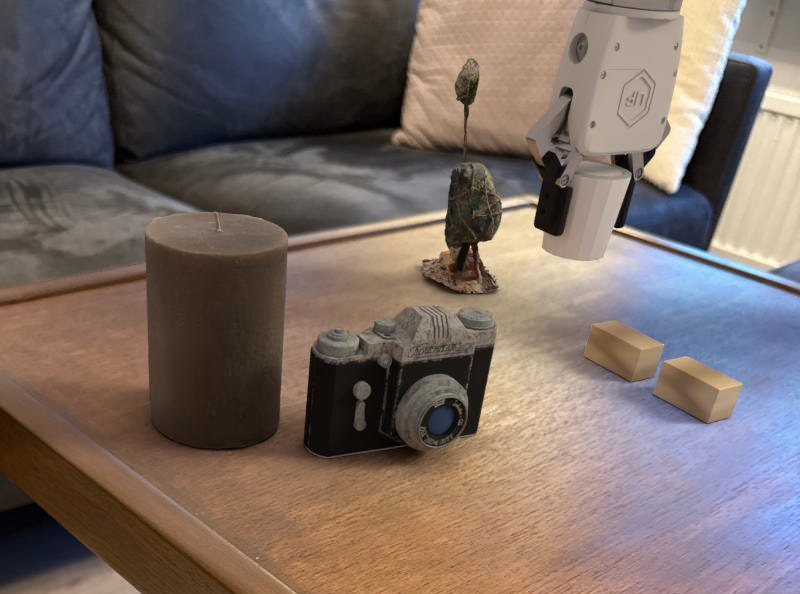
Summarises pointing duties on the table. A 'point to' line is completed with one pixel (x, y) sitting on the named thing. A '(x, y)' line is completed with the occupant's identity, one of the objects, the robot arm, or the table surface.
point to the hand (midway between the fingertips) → (578, 226)
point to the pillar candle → (215, 327)
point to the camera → (399, 382)
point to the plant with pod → (467, 211)
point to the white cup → (590, 211)
